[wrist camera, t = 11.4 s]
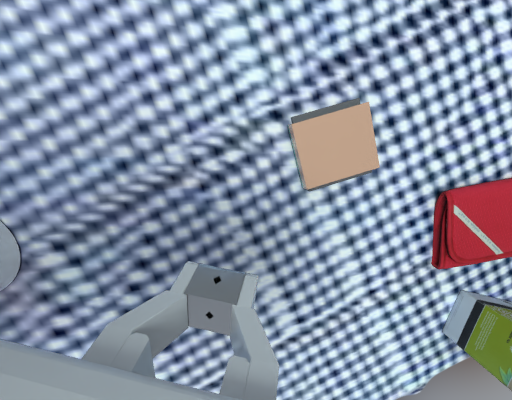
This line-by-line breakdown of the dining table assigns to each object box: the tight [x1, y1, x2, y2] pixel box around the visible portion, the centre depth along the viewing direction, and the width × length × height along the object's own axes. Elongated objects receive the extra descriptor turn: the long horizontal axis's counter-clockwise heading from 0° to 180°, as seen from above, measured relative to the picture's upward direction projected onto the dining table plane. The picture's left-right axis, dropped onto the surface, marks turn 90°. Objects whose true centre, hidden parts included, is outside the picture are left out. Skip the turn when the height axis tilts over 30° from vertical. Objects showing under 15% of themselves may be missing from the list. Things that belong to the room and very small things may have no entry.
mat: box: [291, 98, 372, 191], centre depth 42 cm, size 11×12×1 cm
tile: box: [288, 102, 379, 189], centre depth 40 cm, size 2×10×12 cm
